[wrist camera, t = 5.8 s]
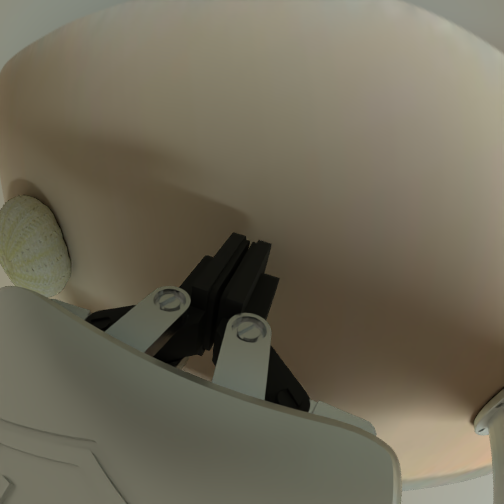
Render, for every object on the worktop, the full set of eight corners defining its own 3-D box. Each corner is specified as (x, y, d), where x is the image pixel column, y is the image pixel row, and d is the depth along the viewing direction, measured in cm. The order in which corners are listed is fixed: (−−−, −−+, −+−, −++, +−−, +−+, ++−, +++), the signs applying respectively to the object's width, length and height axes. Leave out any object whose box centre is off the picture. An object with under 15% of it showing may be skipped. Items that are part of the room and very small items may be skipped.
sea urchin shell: (0, 176, 14) (-31, 237, 9) (77, 178, 19) (69, 239, 14) (8, 255, 19) (-3, 319, 14) (72, 256, 24) (74, 320, 19)
